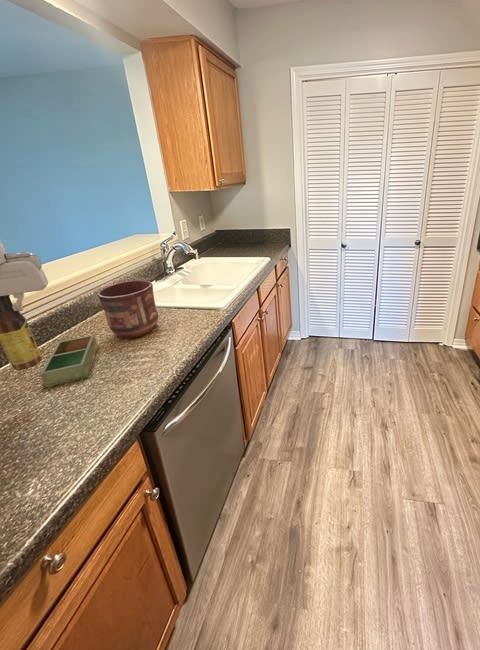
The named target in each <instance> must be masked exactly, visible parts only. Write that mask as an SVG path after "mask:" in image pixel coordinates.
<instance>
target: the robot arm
mask: <svg viewBox="0 0 480 650" xmlns="http://www.w3.org/2000/svg"><path fill="white" fill-rule="evenodd" d="M42 266H43V265H42V262H41V259H40V257H39V256H38V255H36V254H34V253H31V252H29V251H23V252H18V253H16V252H14V253H7V252H6V249H5V247H4V245H3V242H2V239H1V238H0V296H5V295H10V296H12V297H13V298H14V299H16V302H15V303H12V304H13V305H12V308H13V309H14V310H13V311H14V312H23V311H24V309H25V308H24V306H23V300H24V297H25V294H26V293H33V292H40V291H43V290H45V289H46V288H47V286H48V285H49V281H48V278H47V276H46V274H45V272H44V270H43V268H42Z"/></svg>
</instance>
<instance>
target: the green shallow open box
mask: <svg viewBox="0 0 480 650" xmlns="http://www.w3.org/2000/svg"><path fill="white" fill-rule="evenodd" d="M98 347H99V345H98V342H97V340H96V336H95V334H91V335H86V336H81V337H76V338H71V339H67V340H66V339H65V340H62V341H58V342H57V344H56V346H55V347H54V348H53V350H52V352H51V354H50V356H49V358H48V359H47V360H46V362H45V365H44V366H43V368H42V370H41V371H40V377H41V379H42V382H43V384H44V386H45V388H51V387H55V386H59V385H64V384H69V383H71V382H72V383H73V382H77V381H81V380H85V379H88V378H89V376H90V373H91V370H92V367H93V363H94V361H95V358H96V354H97V351H98Z"/></svg>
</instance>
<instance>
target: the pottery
mask: <svg viewBox="0 0 480 650" xmlns="http://www.w3.org/2000/svg"><path fill="white" fill-rule="evenodd" d="M97 296H98V299H99V301H100V305H101V306H102V309H103V312H104V314H105V317H106V321H107V324H108V327H109V329H110V331H111V332H112V333H113V334H114V335H115V336H117V337H119V338H121V339H124V340H135V339H139V338H142V337H145V336H148V335H149V334H150V333H151V332H153V331H154V329H155V328H156V327H157V325H158V322H159V317H160V316H159V311H158V308H157V305H156V299H155V295H154V285H153V283H152V281H149V280H145V279H135V280H127V281H121V282H117V283H113V284H111V285H108V286H106V287H104V288H102V289H100V290H99V291H98V293H97Z"/></svg>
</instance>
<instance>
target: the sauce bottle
mask: <svg viewBox="0 0 480 650" xmlns="http://www.w3.org/2000/svg"><path fill="white" fill-rule="evenodd" d="M10 296H11V295H5V296H0V345H1V348H2V350H3V351H4V354H5V356H6V358H7V360H8V363H9V364H10V365H11V367H12V368H13V369H14V370H15V371H22V370H28V369H30V368H32V367H35V366H37V365H38V364H40V362H41V361H42V356H41V352H40V349H39V347H38V344H37V342H36V339H35V337H34V334H33V332H32V330H31V327H30V326H29V323H28V321H27V318H26V317H25V316H24V315H23V314H22V313H21V311H19V312H14V311H13V310H14V309H13V308H12V305H13V304H14V303H13V301H12V299H11V297H10Z"/></svg>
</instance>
